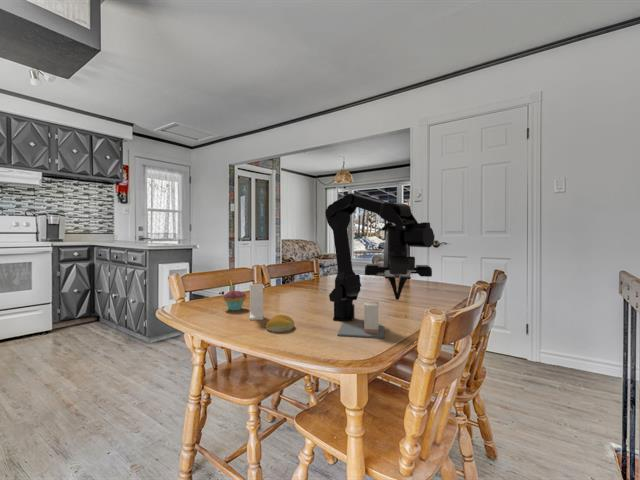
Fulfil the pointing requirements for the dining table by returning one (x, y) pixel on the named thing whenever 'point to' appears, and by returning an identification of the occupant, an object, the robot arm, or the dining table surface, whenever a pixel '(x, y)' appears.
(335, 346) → the dining table surface
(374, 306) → the tall block
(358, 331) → the rubber mat
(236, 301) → the cupcake
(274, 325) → the bread roll
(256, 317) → the light gray rectangular block
